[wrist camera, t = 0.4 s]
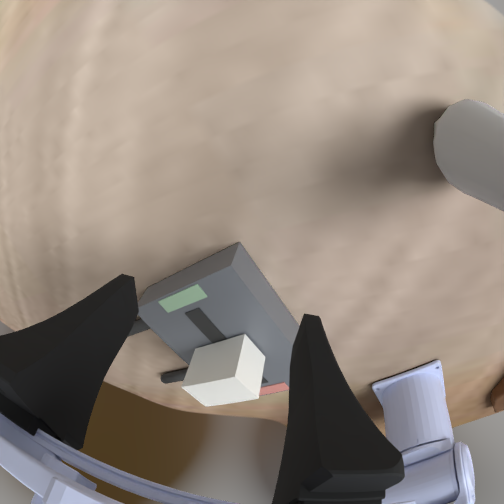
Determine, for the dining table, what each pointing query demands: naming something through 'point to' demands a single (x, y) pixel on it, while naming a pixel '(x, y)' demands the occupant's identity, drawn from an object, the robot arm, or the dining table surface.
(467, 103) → the salt shaker
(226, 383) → the breaker handle
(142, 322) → the dressed cords
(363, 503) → the robot arm
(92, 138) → the dining table surface
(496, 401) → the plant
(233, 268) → the breaker block
